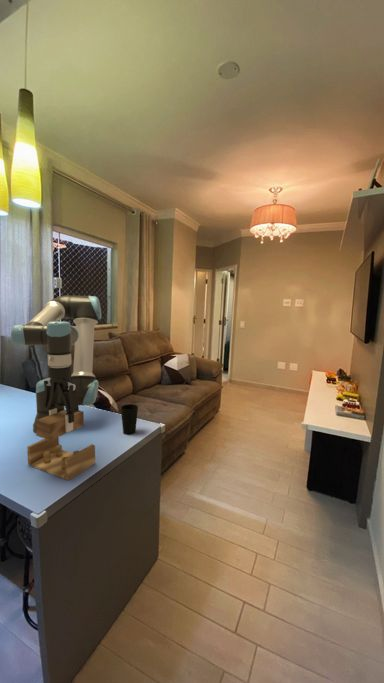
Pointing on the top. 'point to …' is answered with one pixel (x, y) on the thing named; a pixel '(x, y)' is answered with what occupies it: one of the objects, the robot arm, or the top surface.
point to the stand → (59, 458)
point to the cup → (129, 418)
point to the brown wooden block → (57, 424)
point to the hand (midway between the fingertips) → (61, 428)
